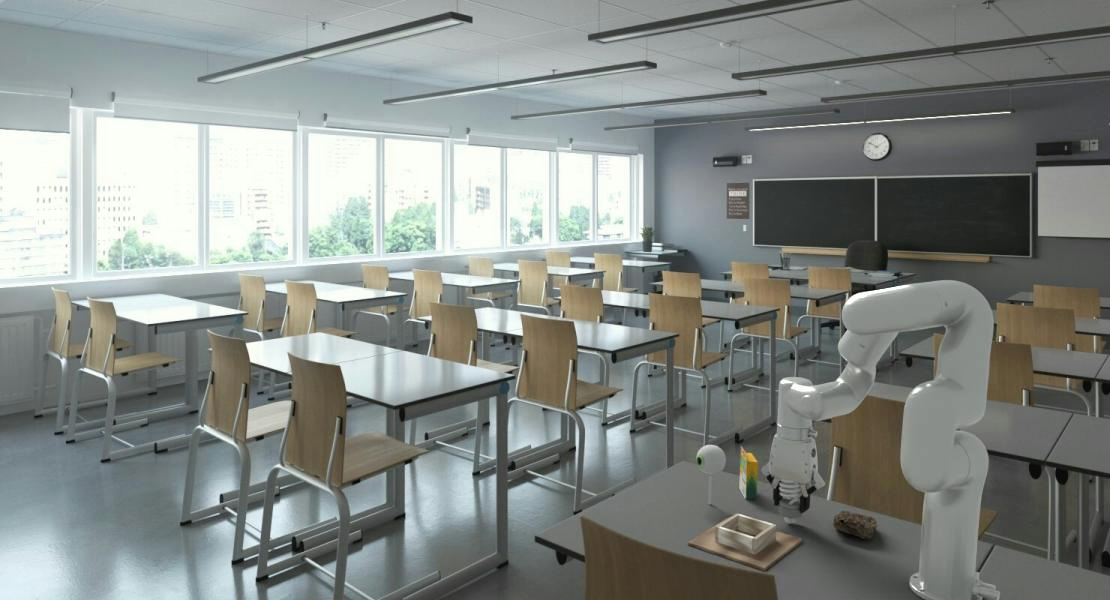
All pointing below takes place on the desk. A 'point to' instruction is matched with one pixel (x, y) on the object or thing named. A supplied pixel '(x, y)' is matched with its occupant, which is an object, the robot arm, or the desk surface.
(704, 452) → the lollipop
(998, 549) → the desk surface
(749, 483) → the crayon box
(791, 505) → the light bulb
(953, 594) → the robot arm
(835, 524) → the concrete sample
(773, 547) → the wooden box on board
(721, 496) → the desk surface
